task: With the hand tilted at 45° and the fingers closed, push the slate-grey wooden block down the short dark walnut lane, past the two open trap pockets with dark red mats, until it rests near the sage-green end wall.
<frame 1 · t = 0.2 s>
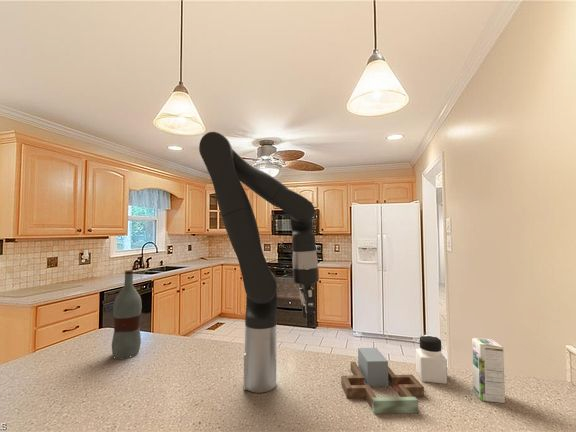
hand: (308, 321, 86), 18 cm above the countertop, tool pointing down, fingers open, 8 cm apart
syrup box: (488, 397, 79), on the countertop
medicine bottle: (431, 377, 90), on the countertop
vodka: (126, 354, 106), on the countertop
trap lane: (379, 388, 83), on the countertop
slate block: (372, 377, 89), on the countertop
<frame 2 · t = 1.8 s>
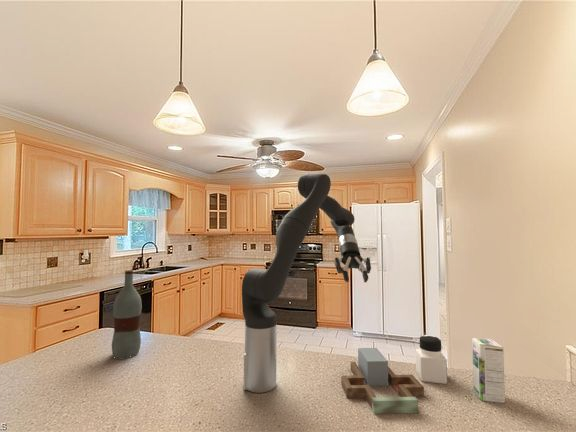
hand: (356, 281, 108), 26 cm above the countertop, tool tilted 45°, fingers open, 6 cm apart
nothing on the countertop moved.
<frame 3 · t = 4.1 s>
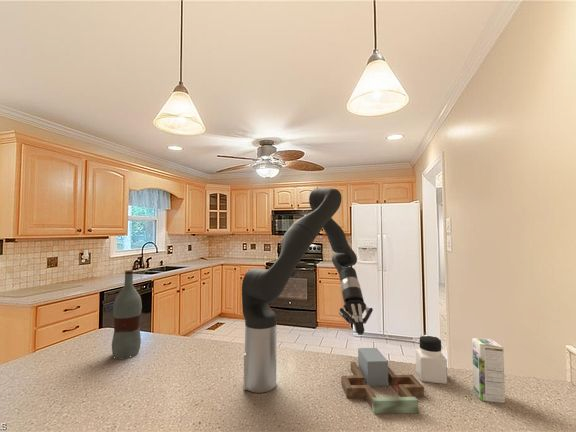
hand: (360, 333, 102), 9 cm above the countertop, tool tilted 45°, fingers closed
nothing on the countertop moved.
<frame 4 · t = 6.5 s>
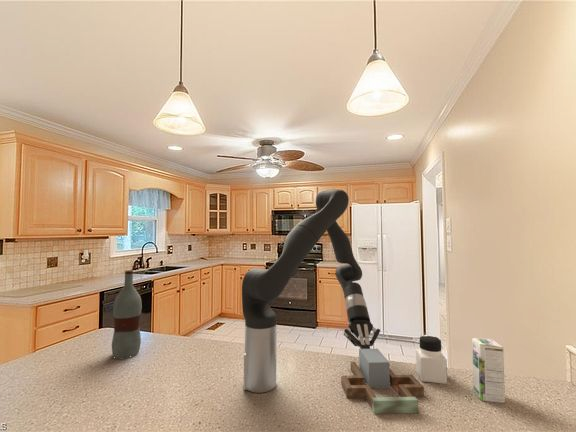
hand: (367, 358, 94), 4 cm above the countertop, tool tilted 45°, fingers closed
slate block: (373, 378, 88), on the countertop, touching gripper
everything else where it was.
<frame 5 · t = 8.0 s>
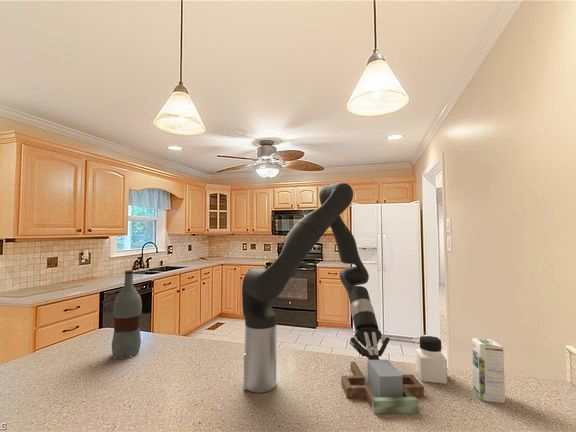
hand: (376, 370, 86), 4 cm above the countertop, tool tilted 45°, fingers closed
slate block: (384, 393, 80), on the countertop, touching gripper
everything else where it was.
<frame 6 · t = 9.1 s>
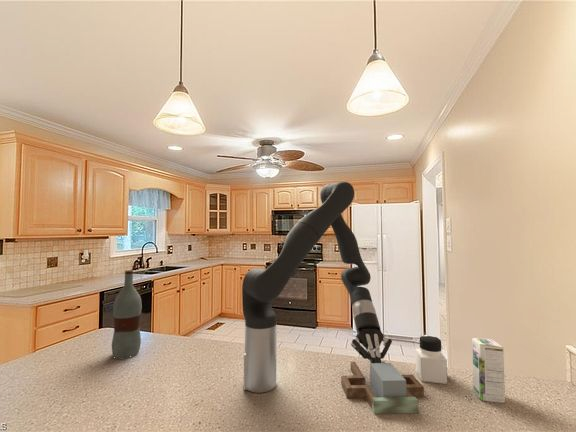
hand: (378, 372, 84), 4 cm above the countertop, tool tilted 45°, fingers closed
slate block: (387, 398, 78), on the countertop
everything else where it was.
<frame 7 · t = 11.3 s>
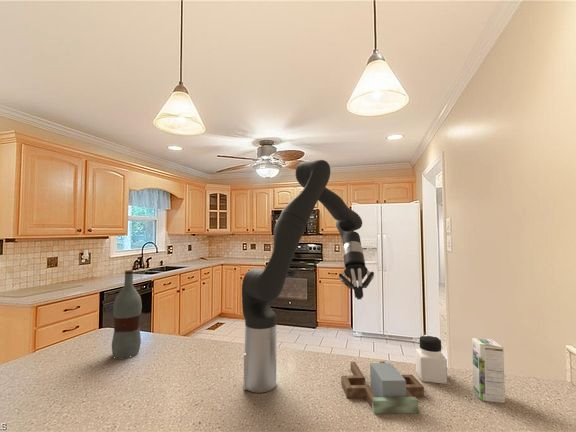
hand: (359, 298, 99), 22 cm above the countertop, tool tilted 40°, fingers closed
nothing on the countertop moved.
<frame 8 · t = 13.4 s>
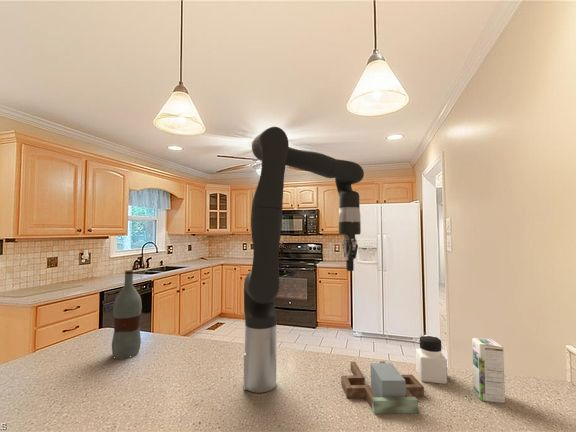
hand: (350, 270, 102), 31 cm above the countertop, tool pointing down, fingers closed
nothing on the countertop moved.
at the end: slate block inside the target area (0.6 cm from its centre), on the countertop; slate block tilted 0°; slate block moved 11.2 cm from its start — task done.
